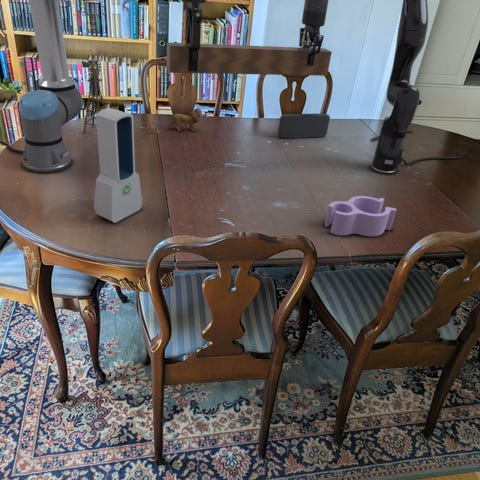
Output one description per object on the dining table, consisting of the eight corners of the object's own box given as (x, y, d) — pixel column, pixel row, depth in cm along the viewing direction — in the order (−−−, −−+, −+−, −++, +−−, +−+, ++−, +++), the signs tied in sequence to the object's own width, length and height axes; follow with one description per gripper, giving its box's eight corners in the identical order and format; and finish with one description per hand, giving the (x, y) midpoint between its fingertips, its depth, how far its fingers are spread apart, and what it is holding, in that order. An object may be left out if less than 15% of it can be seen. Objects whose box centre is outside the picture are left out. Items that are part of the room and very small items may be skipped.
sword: (408, 129, 227) (409, 127, 226) (413, 131, 225) (414, 129, 224) (366, 140, 211) (366, 138, 210) (371, 143, 209) (371, 140, 208)
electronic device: (112, 224, 131) (106, 120, 115) (93, 216, 134) (84, 113, 118) (143, 208, 140) (140, 109, 124) (124, 200, 143) (119, 103, 127)
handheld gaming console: (323, 134, 210) (328, 113, 204) (326, 137, 208) (331, 115, 202) (276, 136, 203) (280, 113, 197) (279, 138, 201) (282, 115, 195)
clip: (337, 240, 135) (342, 219, 131) (318, 218, 145) (322, 198, 141) (395, 233, 141) (402, 213, 137) (373, 213, 151) (378, 194, 147)
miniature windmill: (102, 136, 185) (96, 56, 168) (82, 132, 186) (74, 53, 169) (112, 128, 192) (107, 52, 176) (92, 125, 193) (86, 49, 177)
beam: (169, 72, 145) (169, 45, 141) (166, 68, 149) (166, 42, 145) (327, 75, 162) (331, 51, 158) (321, 72, 166) (325, 48, 161)
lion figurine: (199, 126, 204) (200, 106, 199) (202, 131, 200) (204, 110, 195) (166, 128, 199) (166, 107, 194) (169, 132, 195) (169, 111, 190)
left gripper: (213, -9, 130) (208, 76, 143) (200, -16, 145) (197, 62, 157) (187, -11, 128) (184, 75, 141) (176, -18, 143) (175, 61, 155)
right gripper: (335, 13, 146) (325, 69, 155) (316, 6, 157) (307, 59, 167) (314, 11, 144) (305, 68, 153) (296, 5, 155) (288, 58, 164)
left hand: (191, 68), depth 149 cm, fingers closed on beam, 5 cm apart
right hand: (306, 63), depth 160 cm, fingers closed on beam, 5 cm apart
